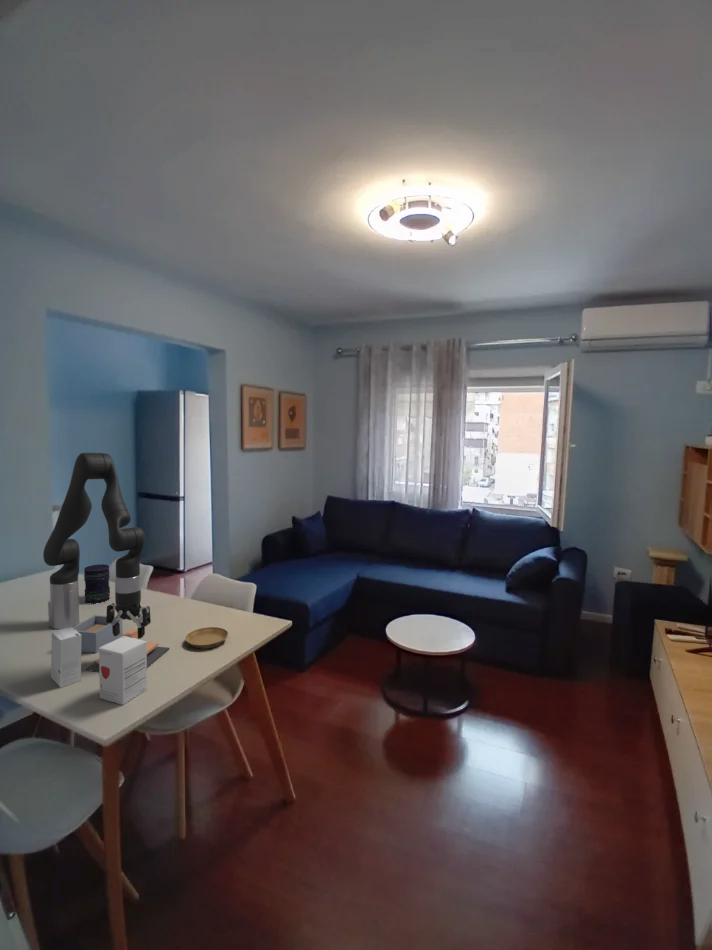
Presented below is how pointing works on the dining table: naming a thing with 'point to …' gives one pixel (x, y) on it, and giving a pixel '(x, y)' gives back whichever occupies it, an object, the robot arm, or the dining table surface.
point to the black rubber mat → (151, 658)
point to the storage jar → (96, 583)
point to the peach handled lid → (134, 634)
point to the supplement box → (123, 669)
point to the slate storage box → (96, 633)
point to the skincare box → (66, 656)
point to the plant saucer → (206, 637)
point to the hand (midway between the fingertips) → (128, 636)
